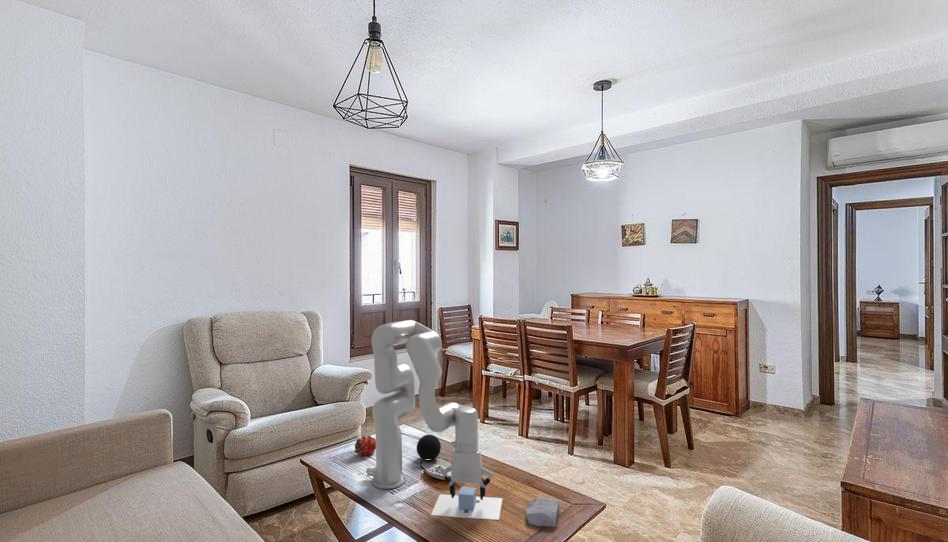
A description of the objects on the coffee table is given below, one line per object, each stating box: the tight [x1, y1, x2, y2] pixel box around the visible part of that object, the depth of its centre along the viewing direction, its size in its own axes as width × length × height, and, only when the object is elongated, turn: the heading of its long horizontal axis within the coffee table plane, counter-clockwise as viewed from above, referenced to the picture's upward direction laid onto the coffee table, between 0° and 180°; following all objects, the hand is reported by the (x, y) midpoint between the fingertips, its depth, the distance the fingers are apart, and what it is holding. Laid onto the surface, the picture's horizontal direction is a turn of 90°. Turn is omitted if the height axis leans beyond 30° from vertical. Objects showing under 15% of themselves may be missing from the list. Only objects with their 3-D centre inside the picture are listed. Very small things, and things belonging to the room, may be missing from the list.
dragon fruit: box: [354, 435, 376, 458], centre depth 192 cm, size 8×8×12 cm
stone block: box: [525, 496, 560, 528], centre depth 144 cm, size 12×5×10 cm
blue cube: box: [457, 486, 477, 511], centre depth 149 cm, size 5×5×5 cm
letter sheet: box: [430, 493, 503, 521], centre depth 149 cm, size 22×13×1 cm, turn 81°
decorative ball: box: [416, 434, 442, 461], centre depth 186 cm, size 10×10×10 cm
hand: (467, 496), depth 149 cm, fingers open, 9 cm apart
